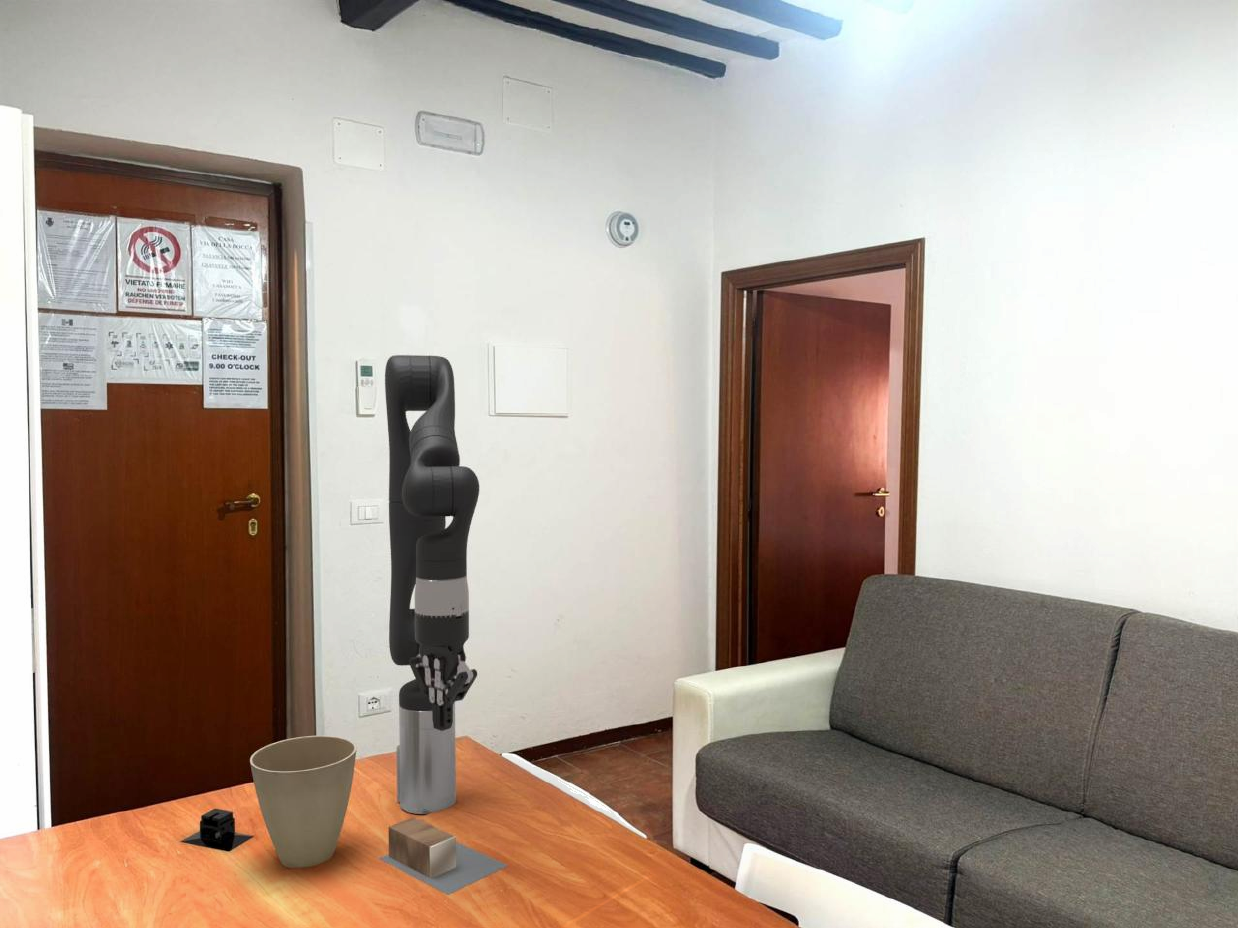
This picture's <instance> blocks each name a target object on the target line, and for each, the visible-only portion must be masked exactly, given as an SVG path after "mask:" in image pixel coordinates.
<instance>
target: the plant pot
mask: <svg viewBox="0 0 1238 928" xmlns="http://www.w3.org/2000/svg"><path fill="white" fill-rule="evenodd" d="M356 756H357V744H356V743H355V742H354V741H352V740H351V739H348V738H345V737H341V736H337V735H308V736H307V735H306V736H298V737H293V738H287V739H283V740H280V741H277V742H274V743H270V744H267V745H265V746H264V747H261V748H260V749H258V750H256V751H255V752H254V753H253V754H252V755H251V756H250V758H249V763H250V768H251V774H252V778H253V779H252V780H253V785H254V789H255V795H256V797H257V802H258V804H259V809H260V811H261V815H262V818H263V821H264V825H265V827H266V829H267V832H268V835H269V838H270V840H271V843H272V845H273V848H274V850H275V852H276V854H277V856H278V858H279V861H280V863H281V864H282V865H283V866H284V867H285V868H289V869H293V868H308V867H313V866H317V865H321V864H323V863H325V862H327V861H329V860H330V859H331V858H332V857H333V855H334V854H335V851H336V847H337V845H338V843H339V842H338V841H339V838H340V836H341V832H342V830H343V829H342V828H343V826H344V822H345V819H346V814H347V810H348V806H349V801H350V796H351V792H352V787H353V781H354V780H353V779H354V772H355V765H356Z"/></svg>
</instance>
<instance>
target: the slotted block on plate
mask: <svg viewBox="0 0 1238 928" xmlns="http://www.w3.org/2000/svg"><path fill="white" fill-rule="evenodd" d="M200 816H201V817H200V819H201V820H200V821H199V831H197V832H195V833H193V834H191V835H189V836H187V837H186V838H184V839H182V840H180V841H179V842H180V843H182V844H183V843H184V844H188V845H193V846H199V847H203V848H208V849H213V850H217V851H218V850H219V851H223V852H231V851H233V850H234V849H236V848H238V847H240V846H241V845H243V844H244V843H247V841H249V840H251V839H253V838H254V837H255V836H254V835H250V834H244V833H239V832H236V821H235V820H236V818H235V817H234V811H230V810H225V809H219V808H213V809H211V810H209V811H207V812H205V813H204V814H201V815H200Z"/></svg>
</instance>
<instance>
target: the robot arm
mask: <svg viewBox="0 0 1238 928" xmlns="http://www.w3.org/2000/svg"><path fill="white" fill-rule="evenodd" d="M384 370H385V372H384V387H385V388H384V390H385V391H384V392H385V393H384V394H385V405H386V419H387V420H386V421H387V433H388V434H387V435H388V446H389V447H388V451H389V453H388V455H389V457H388V458H389V464H388V465H389V467H388V468H389V471H388V472H389V473H388V474H389V477H388V523H389V524H388V525H389V526H388V527H389V544H390V545H389V546H390V576H391V577H390V598H389V599H390V600H389V601H390V602H389V625H388V627H389V628H388V631H389V632H388V642H389V643H388V644H389V646H388V647H389V653H390V657H391V660H392V662H393V663H394V664H395V665H396V666H410V669H411V671H412V673H413V676H414V679H412V680H411V681H408V682H406V683H404V684H403V685H402V686H401V687H400V689H399V692H398V693H399V694H398V711H399V712H398V724H399V731H398V733H399V745H397V746H396V801H397V802H398V803H399V806H400V808H401V810H403V811H405V812H407V813H410V814H417V815H429V814H431V813H438V812H441V811H444V810H447V809H449V808H451V807H452V806H454V805H455V804H456V802H457V799H456V797H457V789H456V787H457V786H456V784H457V783H456V782H457V781H456V780H457V779H456V777H457V775H456V773H457V771H456V768H457V766H456V765H457V763H456V702H458V701H459V702H460V701H463V700H464V698H465V696H466V695H467V694H468V692H469V691H470V688H471V687H472V685H473V684H474V682H475V680H476V678H477V677H478V672H477V669H476V668H475V669H474V668H473V669H472V668H471V669H470V668H469V666H468V665H467V663H466V660H467V656H466V652H465V649H464V646H465V643H466V642H467V641H468V640H469V638H470V596H469V595H470V594H469V585H468V573H467V572H468V571H467V569H468V567H467V566H468V565H467V564H468V561H467V559H468V558H467V557H468V556H467V555H468V554H467V553H468V542H469V541H468V540H469V535H470V529H471V524H472V521H473V517H474V514H475V510H476V507H477V505H478V501H479V495H480V481H479V478H478V476H477V475H476V473H475V471H473V470H472V469H471V468H470V467H468V466H462V465H461V458H460V453H459V452H460V451H459V446H458V442H457V437H456V430H455V428H456V427H455V424H456V401H455V400H456V396H455V395H456V392H455V376H454V369H453V367H452V365H451V362H450V361H449V359H448V358H447V357H443V356H439V355H416V354H415V355H413V354H412V355H409V354H406V355H405V354H403V355H402V354H396V355H392V356H390V357H389V358H388V359H387V361H386V363H385V369H384ZM407 412H424V413H422V414H421V415H420V416H419V417H418V419H417V420H416V421H415V423H414V424H413V425H412V428H410V426H409V422H408V418H407ZM447 517H452V520H451V522H450V523H449V525H448V526H447V527H446V522H447V519H446V518H447ZM413 593H414V608H411V602H412V596H413Z"/></svg>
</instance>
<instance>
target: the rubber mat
mask: <svg viewBox="0 0 1238 928" xmlns="http://www.w3.org/2000/svg"><path fill="white" fill-rule="evenodd" d="M378 859H379V860H381V861H383V862H384V863H386V864H388V865H390V866H392V867H394V868H396V869H398V870H399V871H402V872H403V873H406V874H407V875H409V876H412V878H415V879H416V880H418V881H421V882H423V883H425V884H427V885H429V886H430V887H432V888H434V889H436V890H438V891H440V892H442V893H443V894H445V895H448V896H449V895H451V894H453V893H455V892H457V891H459V890H462V889H463V888H466V887H467V886H470V885H472V884H473V883H476V882H478V881H480V880H482V879H484V878H486V877H488V876H490V875H492V874H495V873H497V872H499V871H501V870H503V869H505V868H507V867H509V865H507V864H505V863H503V862H501V861H499V860H498V859H495V858H492V857H490V856H488V855H487V854H484V853H482V852H480V851H477V850H475V849H473V848H472V847H469V846H467V845H465V844H463V843H460V842H458V841H456V868H454V869H451V870H449V871H447V872H445V873H443V874H440V875H438V876H436V877H434V878H432V879H431V878H429V877H427V876H425V875H423V874H421V873H419V872H417V871H415V870H413V869H411V868H410V867H408V866H406V865H404V864H402V863H400V862H398V861H396V860H394V859H392V858H390V857H389V853H387V854H386V855H383V856H380V857H379V858H378Z"/></svg>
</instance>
